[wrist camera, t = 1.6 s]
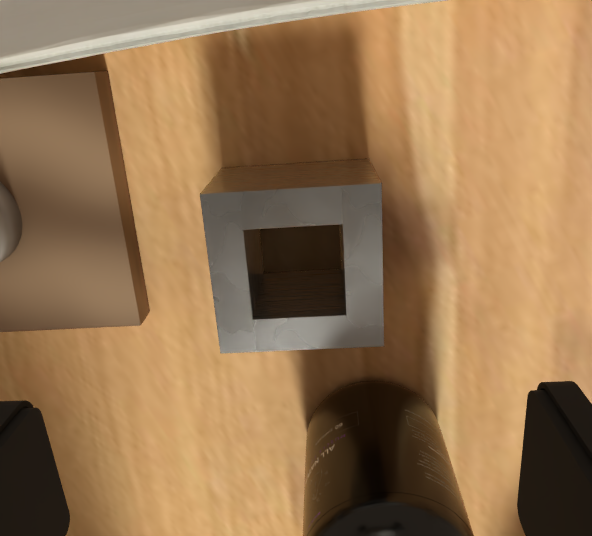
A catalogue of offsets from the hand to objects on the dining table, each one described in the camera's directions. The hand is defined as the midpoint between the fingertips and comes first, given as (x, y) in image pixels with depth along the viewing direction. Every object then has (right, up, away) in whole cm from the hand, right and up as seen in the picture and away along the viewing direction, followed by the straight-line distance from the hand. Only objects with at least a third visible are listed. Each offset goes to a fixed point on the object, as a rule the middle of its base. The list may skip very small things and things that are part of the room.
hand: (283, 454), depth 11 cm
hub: (0, +5, +15) cm, 16 cm away
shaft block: (-14, +6, +15) cm, 21 cm away
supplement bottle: (+4, -5, +19) cm, 20 cm away
